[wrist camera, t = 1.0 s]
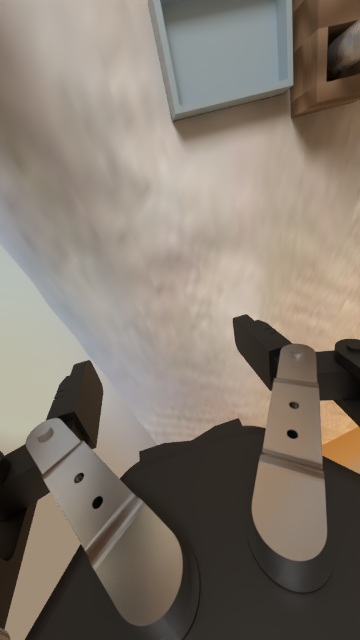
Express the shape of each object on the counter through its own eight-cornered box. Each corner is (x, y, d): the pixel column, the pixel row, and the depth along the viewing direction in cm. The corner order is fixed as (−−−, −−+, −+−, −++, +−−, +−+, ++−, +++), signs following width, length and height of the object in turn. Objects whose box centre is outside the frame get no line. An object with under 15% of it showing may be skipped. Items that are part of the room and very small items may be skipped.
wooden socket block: (287, -65, 26) (321, -124, 21) (368, -81, 26) (418, -141, 22) (290, 118, 33) (316, 103, 28) (355, 101, 33) (389, 84, 29)
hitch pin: (299, 56, 30) (407, -42, 18) (329, 49, 30) (453, -52, 19) (299, 98, 32) (397, 33, 20) (327, 91, 32) (439, 23, 21)
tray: (147, 3, 26) (149, -17, 23) (277, -24, 27) (291, -46, 24) (172, 121, 30) (175, 114, 28) (281, 94, 31) (293, 85, 29)
